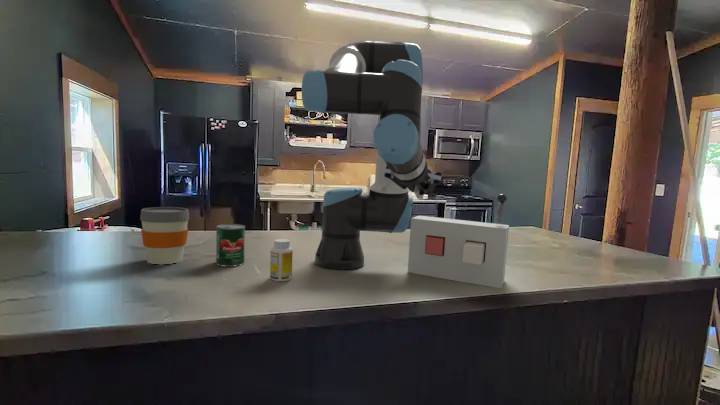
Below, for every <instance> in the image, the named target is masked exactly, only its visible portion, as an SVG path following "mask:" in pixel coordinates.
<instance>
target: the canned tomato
mask: <svg viewBox="0 0 720 405" xmlns="http://www.w3.org/2000/svg"><path fill="white" fill-rule="evenodd" d="M245 233H246V225H243V224H240V223H239V224H238V223H223V224H218V225H216V243H215V244H216V247H215V248H216V252H215V254H216V255H215V256H216V258H215V264H216V265H217V264H219V265H225V266H234V265H240V264H243V263H244V264H245V250H246V249H245V242H246V240H245V239H246V236H245V235H246V234H245ZM244 264H243V265H244ZM219 265H218V266H219ZM240 266H241V265H240ZM234 267H235V266H234Z"/></svg>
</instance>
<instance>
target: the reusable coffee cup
mask: <svg viewBox="0 0 720 405" xmlns="http://www.w3.org/2000/svg"><path fill="white" fill-rule="evenodd" d="M139 217H140V218H139V219H140V221H141V226H142V229H141V230H140V231H141V239H142V244H143V247H144V248H145V253H146V260H147V263H148V262H149V263H152V264H171V263H176V262H179V261H181V260H182V261H183V258H184V252H185V251H184V250H185V245H186V244H187V241H188V233H189V228H188V224H189V220H190V211H189V209H188V208H187V207H177V206H175V207H174V206H159V207H158V206H156V207H155V206H154V207H144V208H142V209H141V210H140V216H139ZM182 261H181V262H182ZM149 263H148V264H149ZM176 264H177V263H176ZM171 265H172V264H171Z"/></svg>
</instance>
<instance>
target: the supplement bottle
mask: <svg viewBox="0 0 720 405" xmlns="http://www.w3.org/2000/svg"><path fill="white" fill-rule="evenodd" d="M290 242H291V240H289V239H287V238H277V239H274V240H273V247H271V249H270V265H269V268H270V269H269V276H270V277H269V278H270V279H271V281H273V280H274V282H279V281H282V282H288V281H290V280H291V279H292V278H293V252H294V251H293V248H292V247H291V243H290Z"/></svg>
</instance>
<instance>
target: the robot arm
mask: <svg viewBox="0 0 720 405" xmlns="http://www.w3.org/2000/svg"><path fill="white" fill-rule="evenodd" d="M423 63H424V62H423V54H422V49H421V47H420V46H419V45H418V44H416V43H412V42H411V43H410V42H405V41H401V42H399V41H374V40H373V41H370V40H364V41H363V40H362V41H361V40H360V41H355V42H353V43H350V44H347V45H344V46H342V47H340V48H338V49H337V50H335V52H334V53H333V54H332V55H331V57H330V59H329V64H328V66H327V67H326V69H325V70H321V69H317V70H306V71H305V72H304V73H303V75H302V79H301V102H302V105H303V108H304V109H305V110H306V111H307V112H311V113H313V112H314V113H320V114H344V115H345V114H352V115H370V116H371V115H372V116H378V123H377V124H376V126H375V128H374V130H373V143H374V146H375V149H376V156H375V157H376V158H375V159H376V160H375V161H376V162H375V175H374V176H375V177H374V178H375V179H374V183H372V184H371V185H370V186H369V191H368V192H364V190H363V188H362V187H344V188H335V189H334V188H333V189H330V190H326V192H325V193H324V194H323V201H322V202H323V203H322V224H321V225H322V226H321V238H320V241H319V245H318V247H317V250H316V252H315V256H314V263H315V265H316V266H318V267H320V268H325V269H330V270H331V269H332V270H354V269H355V270H356V269H359V268H361V267H364V265H365V254H364V251H363V248H362V245H361V238H360V237H361V236H360V235H361V232H375V233H389V234H393V233H395V234H396V233H397V234H399V233H400V234H402V233H404V232H406V230H407V229H408V227H409V224H410V222H411V218H412V210H413V202H414V198H413V196H412V195H411V194H409V191H410V192H412V193H414V195H415V197H416V198H417V199H418V200H419V199H420V200H424V196H425V195H427V193H428V194H431V193H433V191H434V189H435V188H436V186H439V185H441V181H442V175H443V173H442V172H439V171H438V172H432V171H431V169H429V167H428V162H427V159H426V156H425V153H424V150H423V147H422V142H421V135H422V134H421V130H422V129H421V128H422V127H421V126H422V121H421V119H422V118H421V115H422V113H421V112H422V111H421V110H422V93H423V82H424V81H423V80H424V79H423V77H424V65H423ZM427 181H428V182H427Z"/></svg>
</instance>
